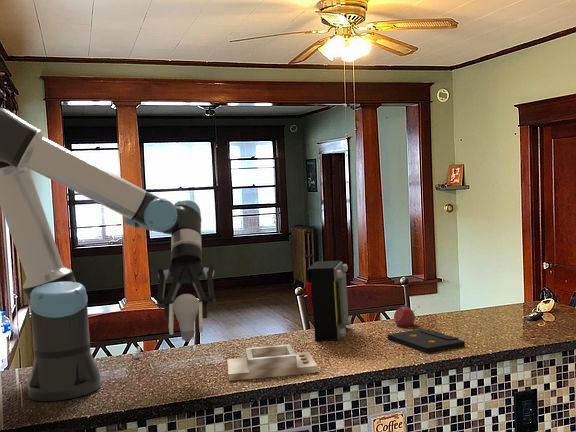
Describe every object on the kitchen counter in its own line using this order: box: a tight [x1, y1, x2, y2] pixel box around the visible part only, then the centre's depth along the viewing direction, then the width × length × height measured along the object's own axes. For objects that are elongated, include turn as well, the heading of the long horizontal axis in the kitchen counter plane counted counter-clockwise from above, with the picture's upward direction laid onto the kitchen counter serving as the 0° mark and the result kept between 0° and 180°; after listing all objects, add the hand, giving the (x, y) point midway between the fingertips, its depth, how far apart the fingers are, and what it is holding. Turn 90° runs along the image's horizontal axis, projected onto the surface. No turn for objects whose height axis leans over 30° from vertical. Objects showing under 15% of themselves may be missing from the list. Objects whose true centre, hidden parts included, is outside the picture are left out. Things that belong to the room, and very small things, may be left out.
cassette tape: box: [387, 328, 466, 355], centre depth 157 cm, size 18×12×2 cm, turn 23°
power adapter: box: [132, 346, 142, 359], centre depth 160 cm, size 3×3×3 cm
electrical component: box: [304, 260, 352, 342], centre depth 173 cm, size 18×10×20 cm, turn 168°
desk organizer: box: [226, 344, 319, 382], centre depth 141 cm, size 20×13×4 cm, turn 97°
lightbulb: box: [173, 293, 200, 343], centre depth 139 cm, size 6×6×11 cm
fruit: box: [393, 306, 420, 328], centre depth 179 cm, size 6×6×8 cm
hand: (186, 330), depth 135 cm, fingers closed on lightbulb, 6 cm apart
